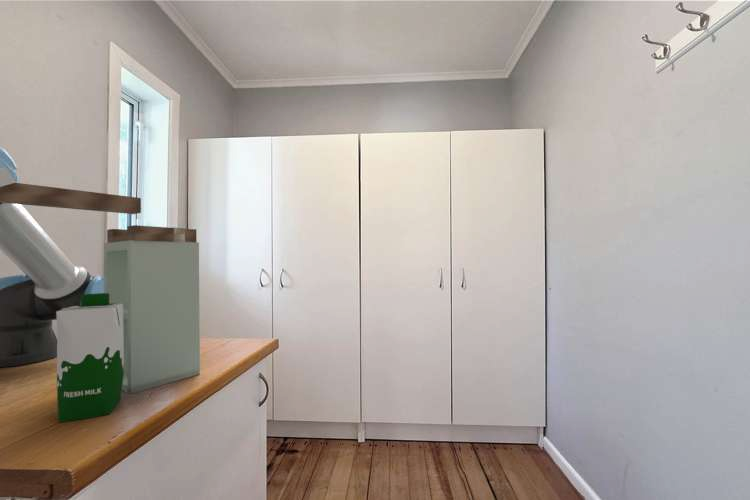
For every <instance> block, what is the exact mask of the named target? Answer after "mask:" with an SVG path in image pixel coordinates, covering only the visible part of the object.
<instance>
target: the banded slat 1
mask: <svg viewBox="0 0 750 500" xmlns="http://www.w3.org/2000/svg"><path fill="white" fill-rule="evenodd" d="M121 241H127V229H121V228H119V229H118V228H110V229H106V243H112V242H121Z"/></svg>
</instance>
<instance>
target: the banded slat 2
mask: <svg viewBox="0 0 750 500" xmlns="http://www.w3.org/2000/svg"><path fill="white" fill-rule="evenodd" d="M126 230H127V241H130V240H134V241H166V242H197V229H196V228H195V229H194V228H184V227H166V226H154V225H153V226H152V225H149V226H148V225H139V224H138V225H135V224H133V225H128V226H126Z"/></svg>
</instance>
